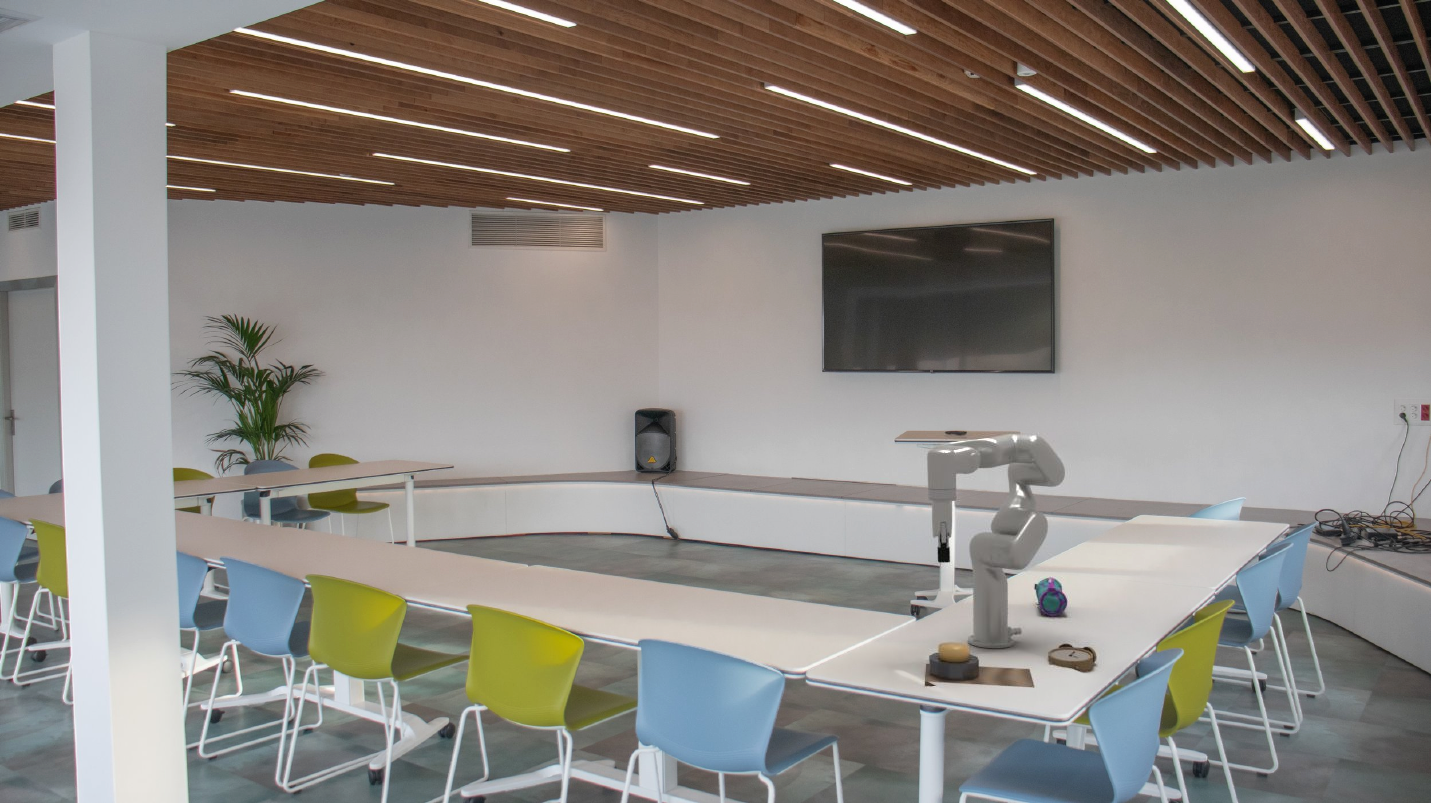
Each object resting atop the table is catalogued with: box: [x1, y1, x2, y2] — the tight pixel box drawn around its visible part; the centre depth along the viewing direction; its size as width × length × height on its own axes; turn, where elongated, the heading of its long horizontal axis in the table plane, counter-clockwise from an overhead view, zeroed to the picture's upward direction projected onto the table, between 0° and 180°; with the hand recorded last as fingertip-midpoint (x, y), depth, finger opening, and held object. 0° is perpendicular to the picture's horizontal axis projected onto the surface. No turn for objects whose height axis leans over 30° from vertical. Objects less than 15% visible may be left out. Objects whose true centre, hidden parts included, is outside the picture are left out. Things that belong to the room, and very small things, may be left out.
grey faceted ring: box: [928, 652, 980, 681], centre depth 263 cm, size 12×12×4 cm
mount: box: [924, 663, 1035, 688], centre depth 262 cm, size 26×16×1 cm, turn 77°
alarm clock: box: [1047, 642, 1097, 673], centre depth 275 cm, size 11×5×15 cm
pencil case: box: [1033, 576, 1068, 617], centre depth 338 cm, size 21×9×10 cm, turn 167°
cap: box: [937, 641, 970, 662], centre depth 263 cm, size 8×8×7 cm
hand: (943, 561), depth 283 cm, fingers closed
